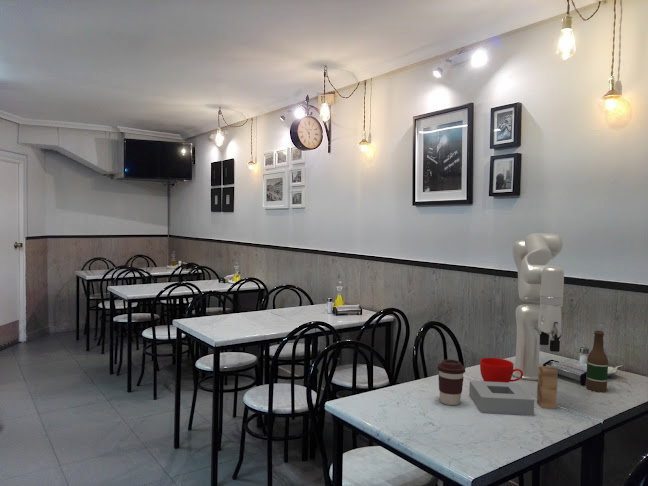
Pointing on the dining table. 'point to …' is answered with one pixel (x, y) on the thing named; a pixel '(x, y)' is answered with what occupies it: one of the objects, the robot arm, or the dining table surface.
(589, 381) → the beer bottle
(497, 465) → the dining table surface
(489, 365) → the ceramic cup
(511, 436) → the dining table surface
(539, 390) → the brown rectangular block
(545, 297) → the robot arm
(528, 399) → the well block
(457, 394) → the coffee cup
